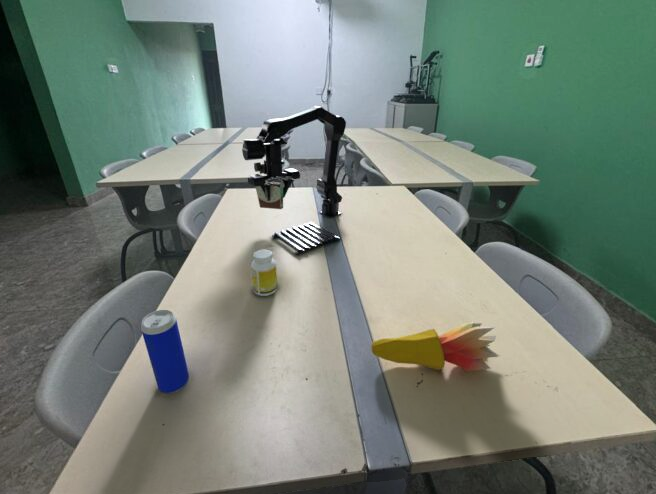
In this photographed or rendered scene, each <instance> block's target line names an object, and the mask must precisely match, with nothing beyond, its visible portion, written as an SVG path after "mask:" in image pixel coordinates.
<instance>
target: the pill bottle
mask: <svg viewBox="0 0 656 494" xmlns="http://www.w3.org/2000/svg"><path fill="white" fill-rule="evenodd" d="M252 257H253V261H252V262H251V264H250V265H251V267H250V268H251V277H252V287H253V288H252V289H253V292H254V293H255V294H256V295H257V296H261V297H268V296H271V295H273V294H274V293H275V292H276V291H277V290H278V278H277V277H278V275H277V264H276V260H275V259H274V258H273V257H274V256H273V252H272V251H271V250H270V249H258V250H256V251H254V252H253V255H252Z"/></svg>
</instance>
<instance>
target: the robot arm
mask: <svg viewBox="0 0 656 494" xmlns="http://www.w3.org/2000/svg"><path fill="white" fill-rule="evenodd" d="M314 121H319V122H320V123H322V124H323V125H324V126H323V127H324V129H323V130H324V135H325V138H326V144H325V153H324V161H323V168H322V169H323V170H322V175H321V176H320V178H317V179H316V186H315V189H316V191H317V193H318V194H319V195H320V198H321V199H322V203H321V211H320V214H322V215H324V216H326V217H328V218H332V217H335V216H338V215H341V214H342V212H340V211H339V207H340V205H339V204H340V203H341V202H342V200H343V196H342V195H340V193H338V183H337V181H336V170H337V162H338V154H339V146H340V141H341V138H342V137H343V136H344V134H345V130H346V127H347V121H346V119H345V118H344V117H343V116H341V115H335V114H334V113H332V112H330V111H329V110H327V109H325V108H324V107H322V106H317V105H315V106H313V107H311V108H308V109H306V110H303V111H300V112H297V113H295V114H292V115H289V116H286V117H280V118H271V119H270V118H269V119H266V120H264V121H263V122H262V125H261V129H260V131H259V133H258V134H257V136H256V138H255V139H253V138H252V139H248V138H246V139H243V143H242V148H241V153H242V158H243V159H244V161H254V160H256V161H257V160H263V163H261V162H260V161H259V162H254V164H253V170H254V172H255V173H254V174H249V175H248V177H247V183H248V184H250V185H251V186H253V187H254V186H256V187H257V186H260V187H261V188H262V190H263V192H264V194H265V197H266V199H267V201H270V185H269V184H268V181H269V180H275V179H280V180H283V182H284V185H285V187H283V199H285V197H286V195H287V193H288V191H289V189H290V187H291V186H292V183H293V182H295V180H298V179H301V172H300V171H299V170H297V169H295V168H292V167H290V168H286V169H283V165H285V160H283V149H282V148H283V147H282V145H283V146H285V145H288V142H287V141H286V140H285V139H284V136H285V135H287V134H288V133H289V132H290V131H291V130H293V129H296V128H298V127H301V126H304V125H307V124H309V123H312V122H314ZM264 158H265V159H264ZM258 172H259V173H258ZM256 187H255V188H256Z"/></svg>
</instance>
